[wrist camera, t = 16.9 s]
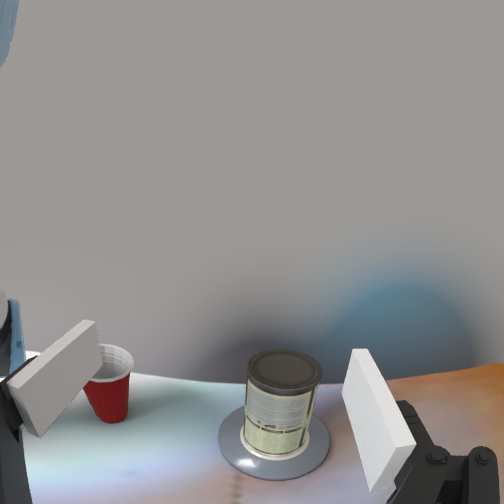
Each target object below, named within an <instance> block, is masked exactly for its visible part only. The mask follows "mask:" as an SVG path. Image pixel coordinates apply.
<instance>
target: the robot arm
mask: <svg viewBox="0 0 504 504" xmlns="http://www.w3.org/2000/svg"><path fill="white" fill-rule="evenodd" d="M18 4H19V0H0V68H1V67H2V66H3V64H4V63H5V61H6V58H7V55H8V52H9V47H10V42H11V40H12V37H13V32H14V27H15V22H16V15H17V10H18ZM102 365H103V363H102V358H101V353H100V347H99V341H98V335H97V329H96V322H94V321H90V320H85V319H84V320H83V321H82V322H80V323H79V324H78V325H76V326H75V327H74V328H72V329H71V330H70V331H69V332H68V333H66V334H65V335H64V336H62V337H61V338H60V339H59V340H57V341H56V342H55V343H54V344H52V345H51V346H50V347H49V348H47V349H46V350H45V351H44V352H42V353H41V354H40V355H39V356H35V357H32V358H30V359H28V360H27V361H26V354H25V346H24V338H23V330H22V322H21V313H20V305H19V302H18V301H17V300H15V299H10V298H9V299H8V300H7V298H6V295H5V293H4V291H3V289H2V288H1V287H0V378H5V379H4V380H3V381H1V382H0V504H33V503H32V499H31V494H30V489H29V484H28V478H27V472H26V465H25V458H24V449H23V439H22V431H21V428H20V425H21V424H22V423H24V425H25V427H26V429H27V431H28V432H29V433H31V434H33V435H35V436H37V437H39V438H41V437H42V436H43V434H44V433H45V432H46V431H47V429H48V428H49V427H50V426H51V425H52V423H53V422H54V421H55V420H56V419H57V417H58V416H59V415H60V414H61V413H62V411H63V410H64V409H65V408H66V407H67V406H68V404H69V403H70V402H71V401H72V400H73V399H74V397H75V396H76V395H77V394H78V393H79V392H80V390H81V389H82V388H83V387H84V386H85V385H86V383H87V382H88V381H89V380H90V379H91V378H92V377H93V375H94V374H95V373H96V372H97V371H98V370H99V369H100V367H101V366H102ZM342 396H343V399H344V402H345V406H346V409H347V412H348V416H349V419H350V423H351V426H352V429H353V433H354V436H355V440H356V443H357V447H358V450H359V454H360V457H361V461H362V465H363V468H364V472H365V476H366V480H367V483H368V487H369V491H370V492H373V491H380V490H386V489H389V487H390V486H391V484H392V483H393V481H394V482H395V485H396V490H395V491H394V492H393V494H392V495H391V496H390V498H389V499H388V500H387V503H386V504H434V503H437V504H500V496H499V477H498V465H497V458H496V455H495V453H494V452H493V451H492V450H491V449H489V448H488V447H483V446H479V447H475V448H473V449H472V450H471V452H470V453H469V454H468V456H452V455H450V453H449V452H448V451H447V450H446V449H444V448H442V447H440V446H435V445H434V444H433V442H432V440H431V438H430V436H429V434H428V432H427V431H426V429H425V427H424V425H423V423H421V420H420V418H419V417H418V414H417V413H416V411H415V409H414V407H413V406H412V405H410V404H409V403H408V402H407V401H406V400H402V401H395V400H394V398H393V396H392V394H391V392H390V390H389V388H388V386H387V384H386V383H385V381H384V379H383V377H382V375H381V373H380V371H379V369H378V368H377V366H376V364H375V362H374V360H373V358H372V357H371V355H370V353H369V351H368V349H353V350H352V355H351V359H350V363H349V367H348V371H347V375H346V378H345V382H344V386H343V389H342Z"/></svg>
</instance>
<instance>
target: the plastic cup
mask: <svg viewBox="0 0 504 504" xmlns="http://www.w3.org/2000/svg"><path fill="white" fill-rule="evenodd" d="M99 347H100V353H101V358H102V363H103V365H102V366H101V367H100V369H99V370H98V371H97V372H96V373H95V374H94V375H93V377H92V378H91V379H90V380H89V381H88V382H87V383H86V385H85V386H84V387H83V390H84V392H85V394H86V396H87V398H88V400H89V402H90V404H91V405H92V407H93V409H94V411H95V413H96V415H97V416H98V417H99V418H100V419H101V420H102V421H104V422H106V423H118V422H120V421H123V420H124V419H125V418H126V416H127V412H128V395H129V377H130V372H131V371H132V368H133V365H134V360H133V357H132V355H131V354H130V353H128V352H127V351H126V350H125V349H122V348H120V347H117V346H114V345H108V344H99Z"/></svg>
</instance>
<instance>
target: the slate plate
mask: <svg viewBox="0 0 504 504" xmlns="http://www.w3.org/2000/svg"><path fill="white" fill-rule="evenodd" d="M244 415H245V406H244V407H241V408H239V409H237V410H235V411H234V412H232V413H231V414H230V415H228V416H227V417H226V418H225V420H224V421H223V423H222V424H221V426H220V430H219V447H220V450H221V452H222V454H223V456H224V457H225V459H226V460H227V461H228V462H229V463H230V464H231V465H232V466H233V467H235V468H236V469H237V470H239V471H241V472H242V473H244V474H247V475H249V476H252V477H255V478H258V479H263V480H271V481H283V480H291V479H295V478H299V477H301V476H304V475H306V474H308V473H310V472H312V471H313V470H314V469H316V468H317V467H318V466H319V465H320V464H321V463H322V462H323V460H324V459H325V457H326V455H327V452H328V449H329V446H330V437H329V433H328V430H327V428H326V427H325V425H324V424H323V422H322V421H321V420H320V419H319V418H318V417H316V416H315V415H314V414H312V415H311V419H310V423H309V427H308V431H307V435H306V441H305V443H304V445H303V447H302V448H301V449H300V450H299V451H297V452H296V453H294V454H291V455H289V456H285V457H267V456H264V455H260V454H258V453H256V452H254V451H253V450H251V449H250V448H249V447H248V446H247V445H246V443H245V442H244V439H243V430H244Z"/></svg>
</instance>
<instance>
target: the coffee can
mask: <svg viewBox="0 0 504 504" xmlns="http://www.w3.org/2000/svg"><path fill="white" fill-rule="evenodd" d="M246 371H247V383H246V400H245V415H244V430H243V439H244V442H245V443H246V445H247V446H248V447H249V448H250V449H251V450H253V451H254V452H256V453H258V454H260V455H264V456H267V457H285V456H289V455H291V454H294V453H296V452H297V451H299V450H300V449H301V448H302V447H303V445H304V443H305V441H306V435H307V431H308V427H309V423H310V419H311V415H312V411H313V407H314V403H315V399H316V394H317V389H318V385H319V381H320V379H321V376H322V368H321V366H320V364H319V363H318V362H317V361H316V360H315V359H314V358H312V357H311V356H309V355H307V354H304V353H301V352H298V351H293V350H286V349H273V350H266V351H263V352H260V353H258V354H256V355H254V356H252V357H251V358H250V360H249V361H248V363H247V370H246Z"/></svg>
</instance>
